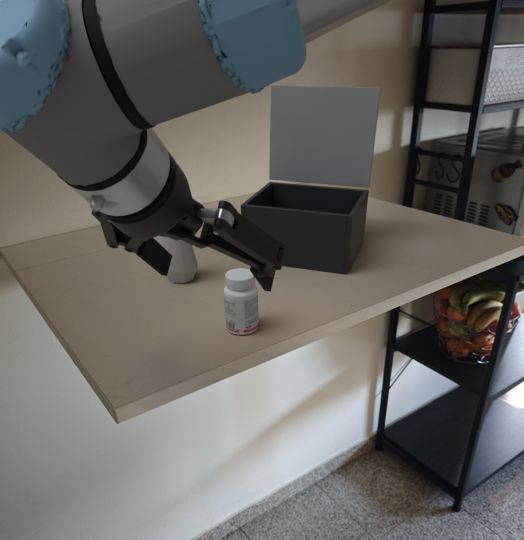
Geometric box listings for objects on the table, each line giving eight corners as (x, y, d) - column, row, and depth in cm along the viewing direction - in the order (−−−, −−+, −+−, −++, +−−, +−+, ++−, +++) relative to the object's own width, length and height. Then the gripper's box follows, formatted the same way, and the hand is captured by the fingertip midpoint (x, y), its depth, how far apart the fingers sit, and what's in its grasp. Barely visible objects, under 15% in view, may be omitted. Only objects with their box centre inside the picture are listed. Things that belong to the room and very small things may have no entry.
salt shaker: (179, 268, 89) (171, 195, 82) (205, 275, 87) (199, 201, 80) (158, 280, 85) (147, 205, 78) (184, 288, 83) (175, 211, 75)
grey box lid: (380, 87, 84) (381, 87, 85) (270, 85, 90) (272, 85, 90) (368, 187, 92) (369, 187, 93) (268, 179, 98) (270, 178, 98)
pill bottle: (258, 318, 74) (257, 266, 69) (259, 335, 70) (258, 281, 65) (226, 319, 74) (223, 267, 69) (225, 336, 70) (221, 282, 65)
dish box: (347, 274, 86) (352, 216, 81) (242, 260, 92) (240, 205, 86) (363, 242, 98) (368, 189, 93) (269, 231, 104) (269, 181, 98)
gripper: (-7, 205, 43) (119, 287, 63) (265, 237, 36) (310, 318, 56) (19, 128, 44) (135, 232, 64) (288, 144, 37) (324, 256, 57)
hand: (217, 272), depth 60 cm, fingers open, 13 cm apart
